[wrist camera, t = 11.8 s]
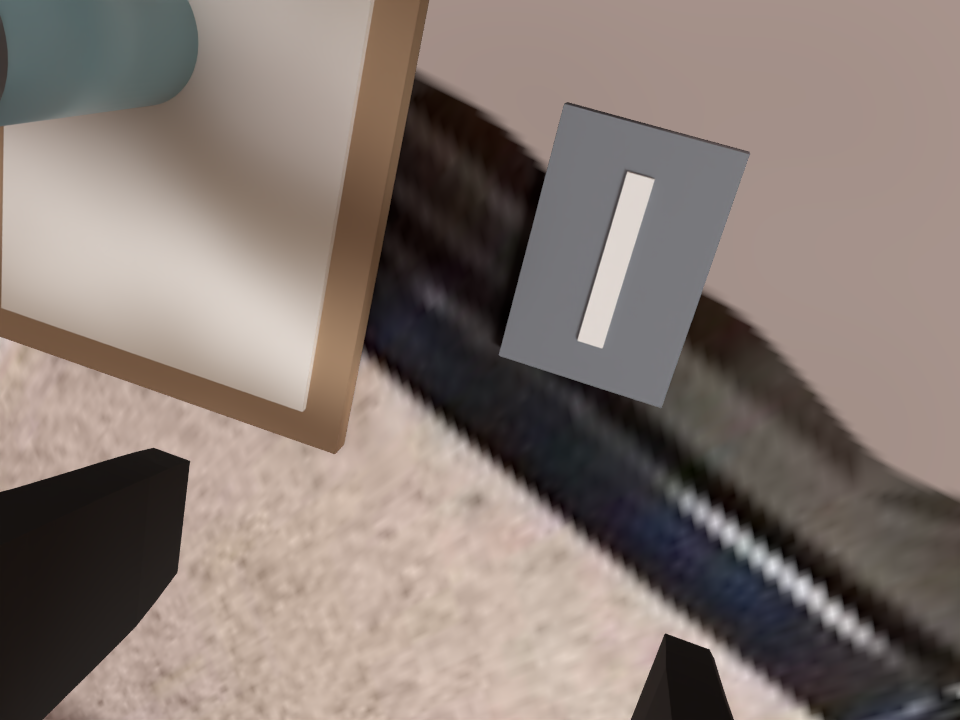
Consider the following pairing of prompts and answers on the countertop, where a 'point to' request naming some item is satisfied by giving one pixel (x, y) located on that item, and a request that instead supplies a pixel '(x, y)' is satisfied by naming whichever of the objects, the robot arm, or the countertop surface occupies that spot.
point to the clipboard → (222, 215)
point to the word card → (620, 251)
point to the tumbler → (92, 56)
